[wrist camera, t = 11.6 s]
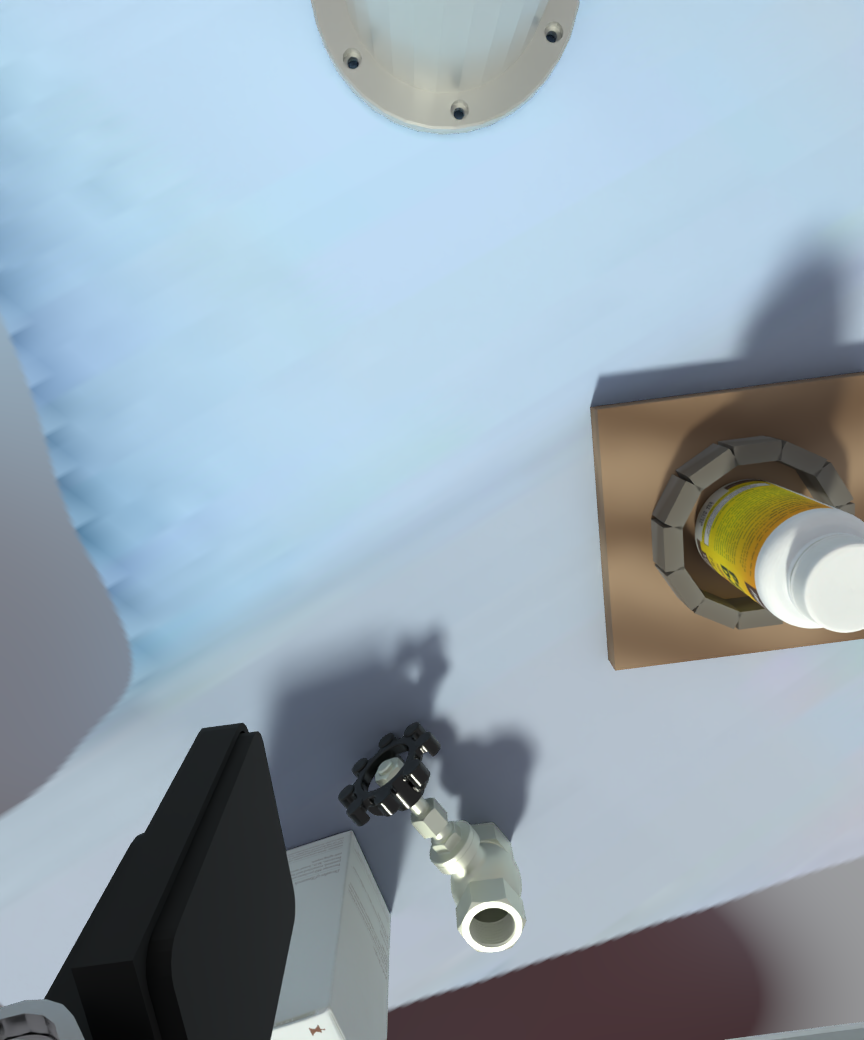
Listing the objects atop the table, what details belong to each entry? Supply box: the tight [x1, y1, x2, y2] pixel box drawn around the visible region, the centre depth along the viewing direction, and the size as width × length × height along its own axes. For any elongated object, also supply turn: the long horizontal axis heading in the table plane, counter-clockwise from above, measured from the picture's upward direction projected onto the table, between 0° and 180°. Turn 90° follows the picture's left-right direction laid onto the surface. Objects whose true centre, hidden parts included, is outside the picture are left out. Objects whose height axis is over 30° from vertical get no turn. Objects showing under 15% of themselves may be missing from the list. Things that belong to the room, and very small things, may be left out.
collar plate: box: [590, 372, 864, 670], centre depth 39 cm, size 15×15×4 cm
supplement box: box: [271, 830, 391, 1040], centre depth 40 cm, size 7×7×13 cm
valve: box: [338, 722, 526, 952], centre depth 42 cm, size 7×7×12 cm
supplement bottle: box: [695, 479, 864, 633], centre depth 34 cm, size 6×6×10 cm
